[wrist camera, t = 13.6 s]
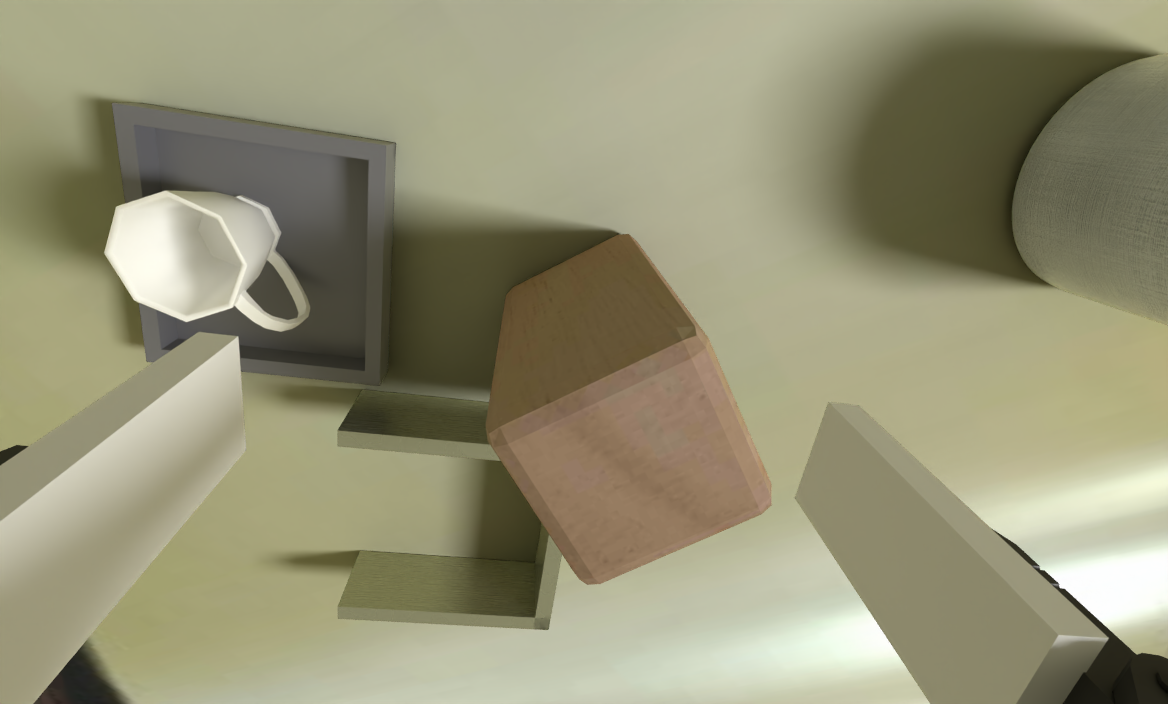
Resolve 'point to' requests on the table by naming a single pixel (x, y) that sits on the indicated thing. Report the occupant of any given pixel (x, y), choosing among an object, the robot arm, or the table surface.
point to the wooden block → (618, 415)
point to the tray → (308, 234)
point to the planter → (1102, 192)
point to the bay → (439, 581)
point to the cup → (199, 255)
